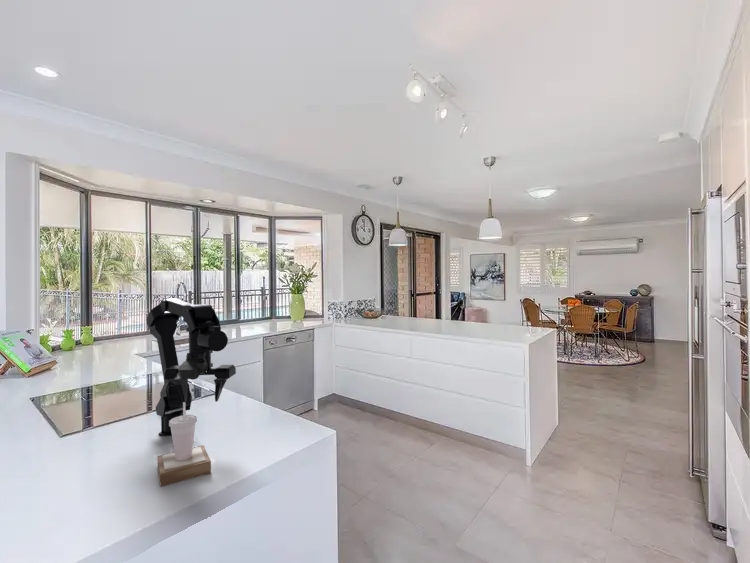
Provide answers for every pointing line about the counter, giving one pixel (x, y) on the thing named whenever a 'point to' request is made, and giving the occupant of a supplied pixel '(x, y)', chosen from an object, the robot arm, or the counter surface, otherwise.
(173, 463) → the plinth
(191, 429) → the smoothie
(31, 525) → the counter surface
